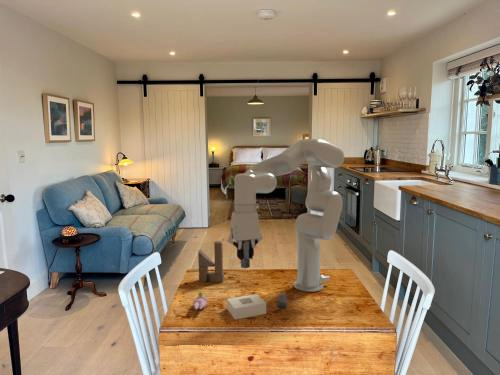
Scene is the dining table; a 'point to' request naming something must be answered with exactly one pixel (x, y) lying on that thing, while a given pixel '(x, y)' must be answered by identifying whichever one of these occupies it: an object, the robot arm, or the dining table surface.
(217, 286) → the dining table surface
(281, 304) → the short pin
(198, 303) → the pink toy figurine
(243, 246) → the long pin
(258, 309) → the hole block
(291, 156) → the robot arm
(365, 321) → the dining table surface
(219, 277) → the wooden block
